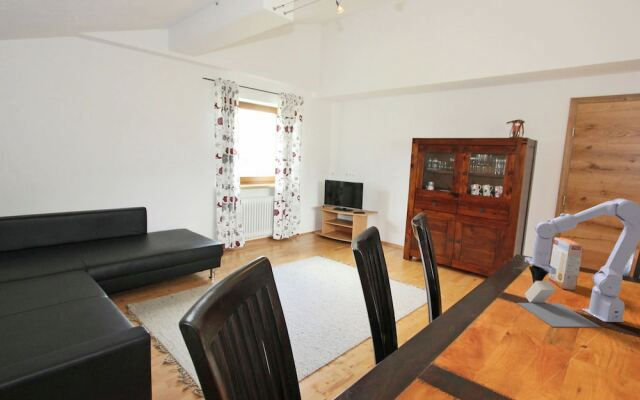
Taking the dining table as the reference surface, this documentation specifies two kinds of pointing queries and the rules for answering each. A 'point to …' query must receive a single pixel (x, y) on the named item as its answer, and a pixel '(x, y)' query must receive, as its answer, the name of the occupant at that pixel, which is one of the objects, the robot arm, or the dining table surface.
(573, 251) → the cracker box
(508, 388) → the dining table surface
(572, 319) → the mat
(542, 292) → the marked block
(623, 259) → the robot arm
